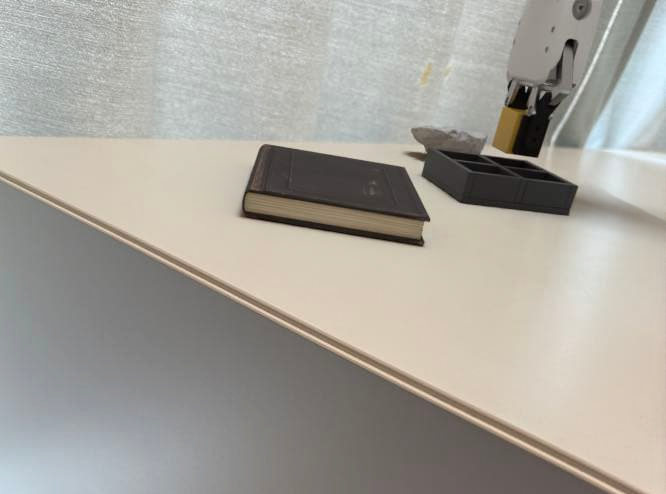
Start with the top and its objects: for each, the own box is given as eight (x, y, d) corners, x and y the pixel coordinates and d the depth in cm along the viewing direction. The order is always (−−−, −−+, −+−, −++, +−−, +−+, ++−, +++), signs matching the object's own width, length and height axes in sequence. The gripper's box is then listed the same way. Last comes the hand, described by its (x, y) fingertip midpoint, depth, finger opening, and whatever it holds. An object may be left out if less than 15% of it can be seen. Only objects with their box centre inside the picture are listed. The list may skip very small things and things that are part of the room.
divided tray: (519, 187, 98) (527, 160, 97) (568, 215, 88) (578, 186, 86) (421, 174, 96) (427, 147, 94) (460, 202, 85) (469, 172, 83)
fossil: (402, 125, 108) (471, 102, 108) (409, 175, 111) (476, 153, 111) (423, 130, 101) (497, 106, 100) (430, 183, 104) (502, 160, 104)
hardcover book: (400, 189, 86) (405, 167, 85) (423, 245, 68) (430, 218, 66) (256, 165, 86) (259, 142, 84) (240, 215, 67) (243, 187, 66)
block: (522, 150, 95) (535, 111, 92) (538, 158, 91) (551, 118, 89) (491, 146, 94) (502, 106, 91) (505, 153, 90) (518, 112, 88)
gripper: (649, -31, 76) (577, 171, 87) (568, -35, 89) (514, 141, 100) (581, -45, 74) (516, 162, 85) (508, -47, 88) (460, 133, 98)
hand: (515, 149), depth 92 cm, fingers closed on block, 4 cm apart
